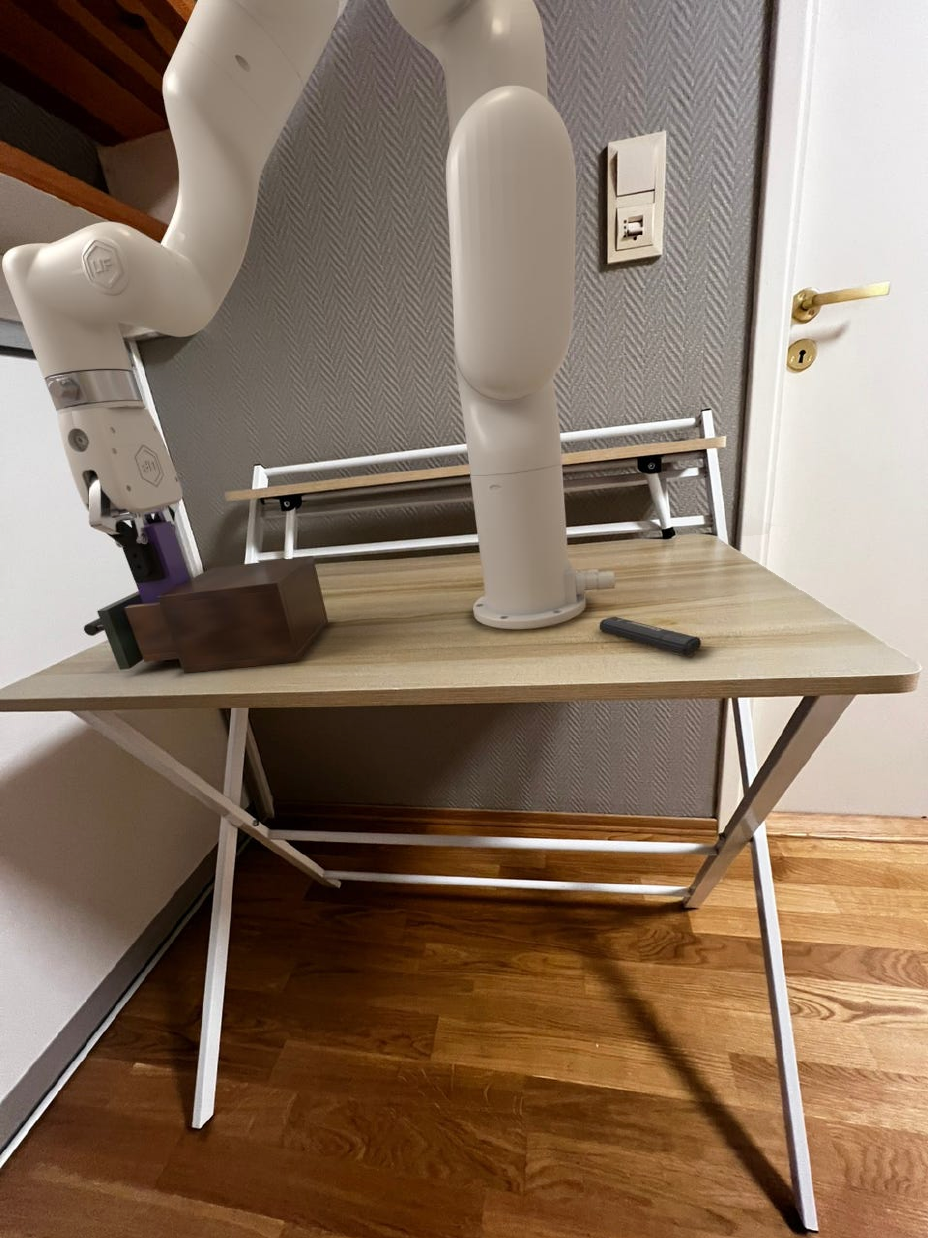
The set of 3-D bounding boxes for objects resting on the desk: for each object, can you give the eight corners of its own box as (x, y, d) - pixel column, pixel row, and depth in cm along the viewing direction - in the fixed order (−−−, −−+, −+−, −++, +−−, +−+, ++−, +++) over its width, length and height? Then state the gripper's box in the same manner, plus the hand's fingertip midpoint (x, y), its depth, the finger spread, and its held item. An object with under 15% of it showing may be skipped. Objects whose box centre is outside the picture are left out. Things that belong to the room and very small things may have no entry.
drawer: (86, 673, 58) (62, 614, 56) (142, 638, 67) (123, 587, 65) (220, 659, 56) (201, 598, 54) (259, 625, 66) (244, 572, 63)
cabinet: (183, 673, 57) (157, 596, 54) (232, 634, 67) (211, 567, 64) (297, 661, 55) (276, 582, 52) (329, 623, 66) (313, 555, 63)
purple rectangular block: (202, 614, 62) (171, 520, 58) (188, 624, 59) (153, 526, 55) (169, 619, 62) (135, 526, 59) (152, 629, 59) (116, 531, 56)
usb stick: (704, 650, 45) (705, 633, 45) (686, 661, 44) (686, 644, 44) (614, 626, 53) (614, 612, 52) (597, 635, 52) (596, 620, 51)
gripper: (70, 386, 45) (148, 594, 51) (179, 394, 60) (228, 553, 66) (-10, 400, 45) (76, 604, 52) (118, 405, 61) (172, 561, 67)
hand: (161, 574), depth 59 cm, fingers closed on purple rectangular block, 3 cm apart
